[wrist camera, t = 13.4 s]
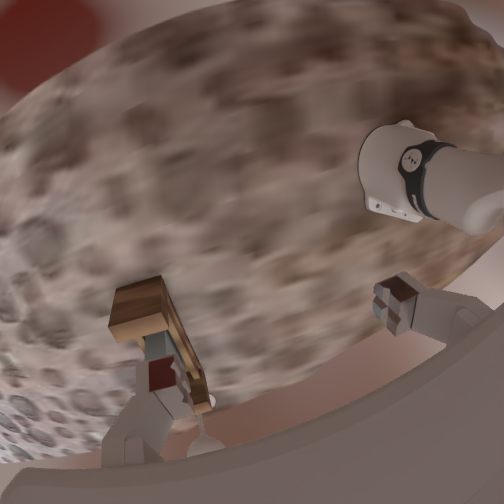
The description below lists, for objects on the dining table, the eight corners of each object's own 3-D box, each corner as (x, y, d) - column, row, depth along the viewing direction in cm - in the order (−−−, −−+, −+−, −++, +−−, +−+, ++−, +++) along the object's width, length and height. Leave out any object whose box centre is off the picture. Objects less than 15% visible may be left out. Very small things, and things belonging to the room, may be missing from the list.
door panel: (182, 355, 52) (188, 397, 43) (164, 360, 51) (168, 402, 42) (164, 320, 47) (166, 362, 39) (145, 325, 47) (144, 367, 38)
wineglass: (219, 407, 63) (241, 483, 45) (185, 416, 62) (199, 492, 44) (209, 387, 59) (230, 470, 41) (172, 396, 58) (184, 480, 40)
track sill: (204, 372, 57) (212, 410, 48) (168, 381, 56) (171, 419, 47) (161, 275, 46) (161, 312, 37) (116, 288, 44) (108, 327, 36)
